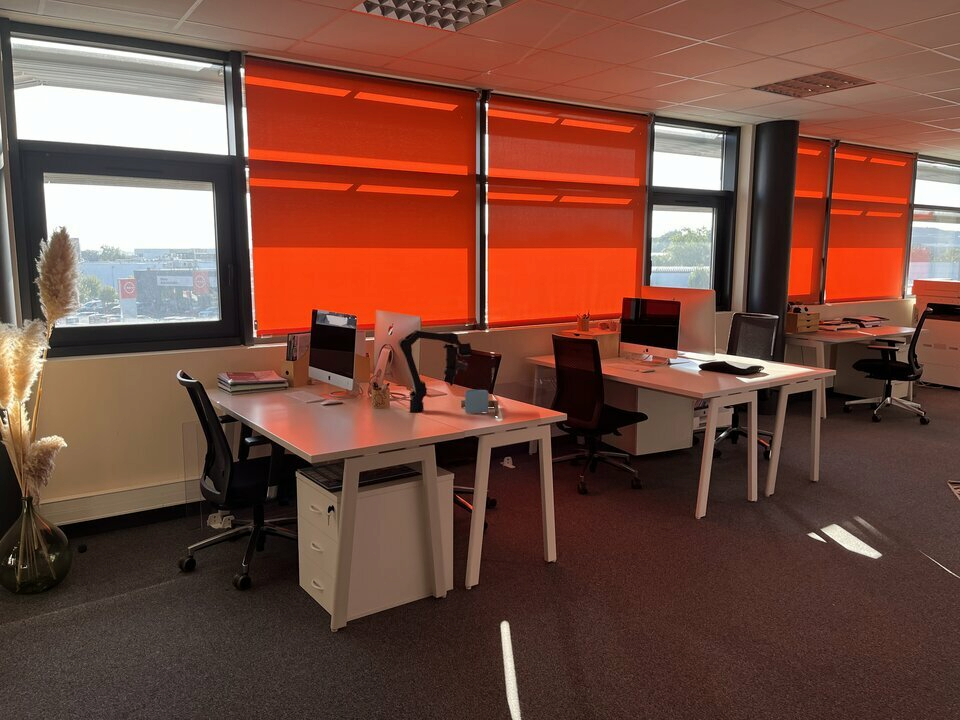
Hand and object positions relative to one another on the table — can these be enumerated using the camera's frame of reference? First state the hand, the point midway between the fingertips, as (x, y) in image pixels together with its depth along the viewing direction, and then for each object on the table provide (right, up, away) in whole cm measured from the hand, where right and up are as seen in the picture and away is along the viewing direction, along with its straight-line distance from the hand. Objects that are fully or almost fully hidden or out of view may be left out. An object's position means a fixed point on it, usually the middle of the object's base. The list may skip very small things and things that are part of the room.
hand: (451, 385), depth 371 cm
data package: (+13, -14, -6) cm, 21 cm away
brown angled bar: (+15, -14, -5) cm, 21 cm away
